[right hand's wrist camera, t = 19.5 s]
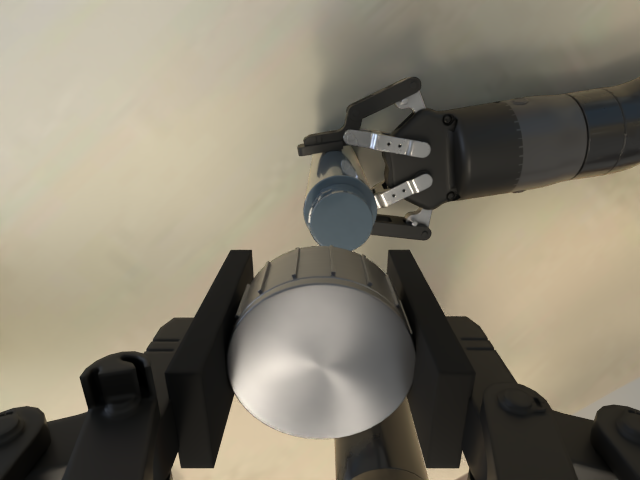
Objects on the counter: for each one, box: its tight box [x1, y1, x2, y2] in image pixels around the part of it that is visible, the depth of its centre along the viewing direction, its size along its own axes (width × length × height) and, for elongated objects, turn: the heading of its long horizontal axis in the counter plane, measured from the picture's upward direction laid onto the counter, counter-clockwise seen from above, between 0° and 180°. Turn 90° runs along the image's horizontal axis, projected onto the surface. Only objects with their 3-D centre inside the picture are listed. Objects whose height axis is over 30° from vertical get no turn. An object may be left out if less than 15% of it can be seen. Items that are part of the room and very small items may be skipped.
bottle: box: [303, 145, 377, 251], centre depth 31 cm, size 4×4×19 cm
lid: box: [226, 245, 416, 439], centre depth 11 cm, size 5×5×2 cm
